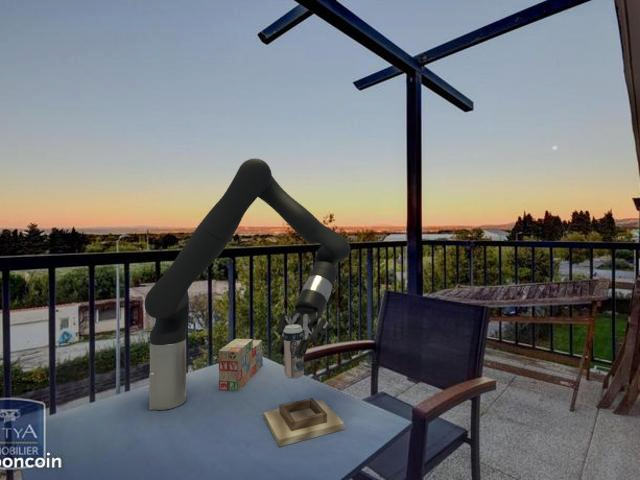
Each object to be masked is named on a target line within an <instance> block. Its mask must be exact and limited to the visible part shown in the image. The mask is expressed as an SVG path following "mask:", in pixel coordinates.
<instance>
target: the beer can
mask: <svg viewBox="0 0 640 480" xmlns="http://www.w3.org/2000/svg"><path fill="white" fill-rule="evenodd" d="M283 332H284V355H283V357H284V359H283V360H284V376H285V377H287V378H288V379H293V380H294V379H299V378H301V377H303V376H304V375H305V370H304V367H305V366H304V364H305V363H304V356H303V357H302V359H301V358H298V357H297V356H296V352H297V349H298V347H299V344H300V342H301V340H303V329H302V327H301V325H298V324H292V325H287V326H285V328H284V330H283Z"/></svg>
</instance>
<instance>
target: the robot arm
mask: <svg viewBox="0 0 640 480" xmlns="http://www.w3.org/2000/svg"><path fill="white" fill-rule="evenodd" d="M257 198H259V199H260V200H262V201H263V202H264V203H266V204H267V205H268V206H270V207H271V208H272V209H273V211H275V212H276V213H277V214H278V215H279V216H280V217H281V218H282V219H283V221H284V222H286V223H287V225H288V226H289V227H291V229H292V230H294V232H296V234H298V235H299V237H301V238H302V239H303V240H304V241H305V242H307V243H308V244H309V245H314V244H319V245H321V246H320V247H319V248H318V250H317V252H316V255H315V259H314V265H313V268H312V270H311V272H310V275H309V277H308V279H307V280H306V281H305V283H304V285H303V288H302V290H301V292H300V294H299V296H298V299H297V300H296V303H295V306H294V310H293V311H292V312H291V313H290V314H286V313H282V314H281V316H280V319H279V323H278V327H277V331H276V333H277V334H278V335H279V336H280V337H281V339H280V341H279V343H278V346H276V347H277V348H276V349H277V353H278V354H280V355H281V356H284V332H283V330H284V328H285V326H287V325H292V324H298V325H301V327H302V329H303V340H301V342H300V344H299V347H298V349H297V352H296V356H297V357H298V358H301V359H302V357H303V358H304V357H305V356H306V354H307V351H308V348H309V345H311V344H318V343H319V342H320V340H321V339H322V337H323V336H324V335H325V333H326V331H327V329H328V327H329V326H330V324H329V322H328V321H327V319H326V318H325V317H322V316H323V314H324V312H325V309H326V306H327V304H328V301H329V299H330V296H331V294H332V289H333V287H334V284H335V281H336V278H337V277H338V269H337V268H336V266H337V264H338V263H340V262H342V261H344V260H345V259H347V258H348V257H349V256H350V254H351V245H350V243H349V241H348V240H347V238H345V237H344V236H343V235H342V234H340V233H338V232H336V231H335V230H334V229H331V228H330V227H328V226H326V225H325V224H323V223H322V222H320V220H319V219H318V218H317V217H316V216H314V214H312V213H311V212H310V211H309V210H308V209H307V208H306V207H304V206H303V205H302V204H301V203H299V202H298V201H297V200H295V199H294V198H293V197H292V196H291V195H289V194H288V192H287V191H285V189H283V187H281V185H279V183H278V181H276V179H275V177H274V176H273V174H272V170H271V167H270V165H269V164H268V163H267V162H266V161H265V160H263V159H260V158H250V159H247V160H244V162H242V163H241V165H240V166H239V168H238V169H237V171H236V173H235V174H234V177H233V179H232V181H231V182H230V184H229V185H228V186H227V189H226V190H225V192H224V194H223V195H222V196H221V198H220V199H219V200H218V201H217V202H216V203H215V204H214V206H213V207H212V208H211V209H210V210H209V211H208V213H207V214H206V215H205V217H203V219H202V220H201V222H199V224H198V225H197V227H196V228H195V230H194V231H193V232H192V234H191V235H190V236H189V238H188V240H187V241H186V243H185V245H184V246H183V247H182V248H181V250H180V252H179V253H178V254H177V256H176V257H175V259H174V261H173V262H172V263H171V265H170V266H169V268H168V269H167V270H166V271H165V272H164V274H163V275H162V276H161V277H160V278H159V279H158V280H157V281H156V282H155V284H153V285H152V287H151V288H150V289H149V290H148V292H147V293H146V295H145V298H144V309H145V312H146V313H147V315H148V316H149V317H151V318H153V319H155V322H154V326H153V327H152V329H151V331H150V333H149V376H148V377H149V378H148V379H149V383H148V384H149V385H148V386H149V387H148V391H149V396H148V399H149V403H148V404H149V405H148V406H149V411H151V410H157V411H158V410H159V411H163V410H164V411H165V410H169V409H174V408H176V407H178V406H179V407H180V406H181V405H182V404H184V403H185V402H186V401H187V331H188V327H189V319H190V318H189V315H190V314H189V312H190V298H189V293H188V291H189V288H190V287H191V286H192V284H193V283H194V282H195V281H196V279H197V278H198V277H200V275H201V274H203V273H204V272H205V271H206V270H207V269H208V268H209V267H210V266H211V265H212V264H213V263H214V262H215V261H216V260H217V258H218V257H219V256H220V255H221V254H222V253H223V251H224V250H225V248H226V247H227V245H228V244H229V243H230V241H231V239H232V238H233V236H234V234H235V233H236V231H237V229H238V228H239V226H240V223H241V222H242V219H243V217H244V216H245V213H246V212H247V211H248V209H249V208H250V207H251V206H252V204H254V202H255V200H256V199H257Z"/></svg>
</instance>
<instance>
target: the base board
mask: <svg viewBox="0 0 640 480" xmlns="http://www.w3.org/2000/svg"><path fill="white" fill-rule="evenodd" d="M278 406H279V408H277V409H272V410H268V411H263V419H264V421H265V424H266V425H267V427H268V429H269V431H270V432H271V433H270V434H271V435H272V436H273V438H274V440H275V442H276V444H277V446H278V447H283V446H287V445H292V444H295V443H298V442H302V441H305V440H311V439H313V438H317V437H321V436H325V435H328V434H332V433H337V432H340V431H344V430H345V422H344V421H343V420H341V418H340V417H339V416H338V415H337V414H336V413H335V412H334V411H333V410H332V409H331V407H329V406H328V405H327V404H326V402H324V400H322V399H319V400H315V399H314V398H313V397H310V398H306V399H305V398H304V399H301V400H296V401H292V402H291V401H290V402H287V403H282V404H279V405H278Z"/></svg>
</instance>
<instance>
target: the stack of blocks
mask: <svg viewBox="0 0 640 480" xmlns="http://www.w3.org/2000/svg"><path fill="white" fill-rule="evenodd" d="M263 352H264V351H263V340H261V339H253V338H235V339H233V340H232V341H231V342H229V343H227V344H226V345H225V346H223V347H222V348H220V349H219V350H218V391H228V392H239V391H240V390H241V389H242V388H243V387H244V386H245V385H246V384H247V383H248V382H249V381H250V379H251V378H252V377H253V376H255V375H256V373H257V372H258V371H259V370H260V369H261V368H262V367H263V366H264V365H263V364H264V363H263V362H264V361H263V358H264V357H263Z"/></svg>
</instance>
